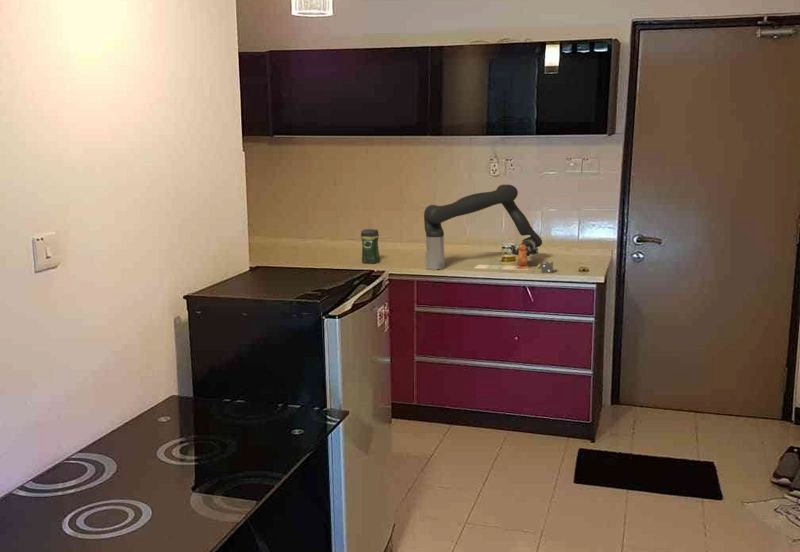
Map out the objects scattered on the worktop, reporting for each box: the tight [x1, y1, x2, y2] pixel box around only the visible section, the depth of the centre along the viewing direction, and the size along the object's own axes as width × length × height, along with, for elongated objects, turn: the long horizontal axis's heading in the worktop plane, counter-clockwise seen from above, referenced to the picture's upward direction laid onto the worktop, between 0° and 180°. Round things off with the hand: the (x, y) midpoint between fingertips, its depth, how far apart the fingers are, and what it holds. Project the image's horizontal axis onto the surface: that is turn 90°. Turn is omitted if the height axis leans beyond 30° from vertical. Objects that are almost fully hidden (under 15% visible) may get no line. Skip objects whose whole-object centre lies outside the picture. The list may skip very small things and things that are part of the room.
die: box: [541, 261, 554, 274], centre depth 385 cm, size 5×5×5 cm
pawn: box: [516, 243, 530, 270], centre depth 389 cm, size 6×6×12 cm
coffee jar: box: [360, 228, 381, 264], centre depth 422 cm, size 10×8×19 cm
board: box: [474, 264, 531, 271], centre depth 393 cm, size 29×12×2 cm, turn 72°
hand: (521, 253), depth 386 cm, fingers open, 5 cm apart
